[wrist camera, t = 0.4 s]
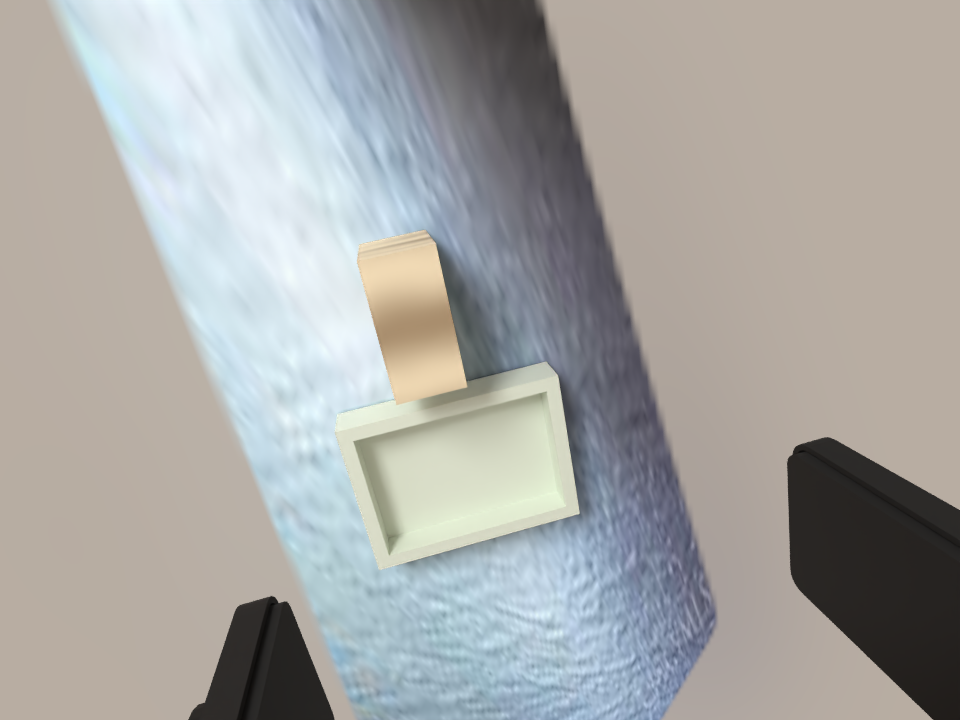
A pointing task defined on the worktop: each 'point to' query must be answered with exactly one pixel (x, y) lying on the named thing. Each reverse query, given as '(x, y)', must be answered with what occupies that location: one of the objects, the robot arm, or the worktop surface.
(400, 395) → the block
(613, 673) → the worktop surface
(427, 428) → the tray
